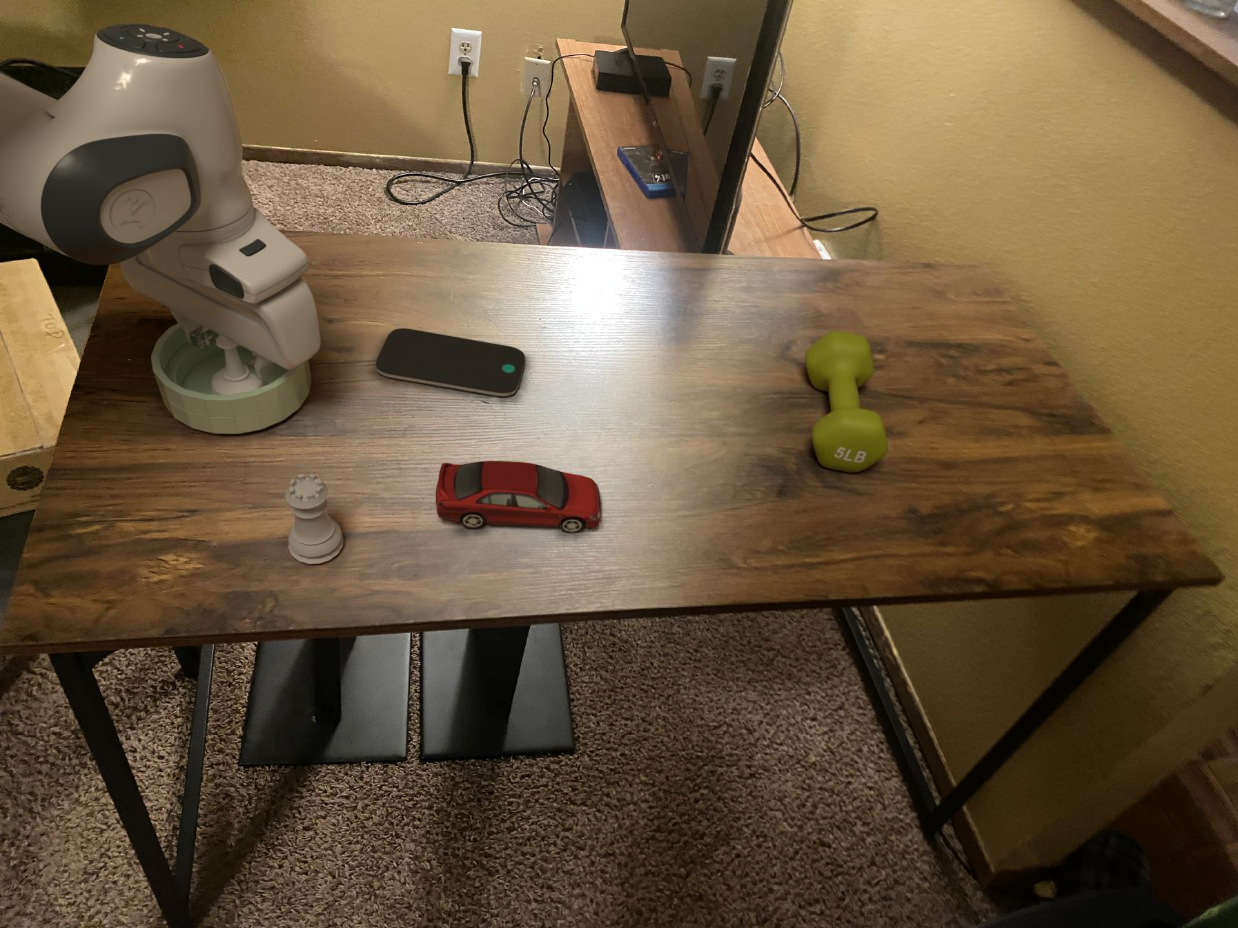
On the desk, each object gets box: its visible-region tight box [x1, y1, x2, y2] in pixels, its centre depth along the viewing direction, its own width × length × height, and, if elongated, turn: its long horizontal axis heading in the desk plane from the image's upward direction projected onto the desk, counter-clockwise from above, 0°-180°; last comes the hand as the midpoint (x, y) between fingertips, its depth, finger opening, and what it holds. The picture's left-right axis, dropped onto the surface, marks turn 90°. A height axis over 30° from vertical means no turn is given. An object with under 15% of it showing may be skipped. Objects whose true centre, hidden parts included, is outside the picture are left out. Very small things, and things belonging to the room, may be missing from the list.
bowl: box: [150, 322, 312, 435], centre depth 81 cm, size 13×13×5 cm
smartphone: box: [375, 327, 526, 397], centre depth 89 cm, size 8×1×15 cm
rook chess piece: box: [284, 473, 344, 565], centre depth 69 cm, size 4×4×8 cm
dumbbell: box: [804, 330, 889, 473], centre depth 90 cm, size 16×8×7 cm, turn 174°
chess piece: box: [211, 334, 266, 395], centre depth 79 cm, size 5×5×10 cm
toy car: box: [435, 460, 602, 534], centre depth 76 cm, size 6×15×5 cm, turn 91°
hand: (232, 359), depth 80 cm, fingers open, 6 cm apart
